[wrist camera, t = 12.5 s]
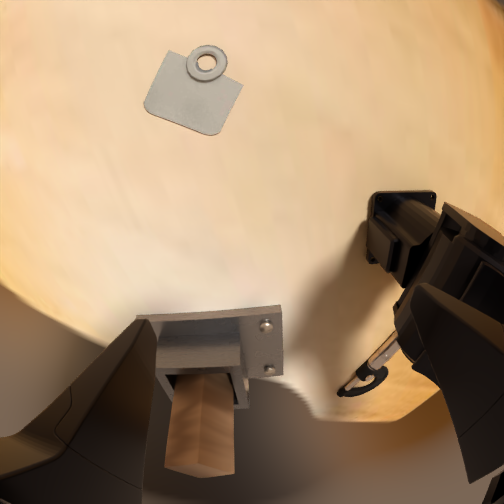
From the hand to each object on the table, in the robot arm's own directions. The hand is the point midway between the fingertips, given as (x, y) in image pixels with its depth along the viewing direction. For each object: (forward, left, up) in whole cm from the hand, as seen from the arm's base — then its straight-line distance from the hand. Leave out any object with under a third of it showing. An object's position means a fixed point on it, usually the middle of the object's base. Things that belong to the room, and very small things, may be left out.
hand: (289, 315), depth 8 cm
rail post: (+7, +17, -12) cm, 22 cm away
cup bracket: (+6, +16, -13) cm, 21 cm away
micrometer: (-15, +24, -14) cm, 31 cm away
